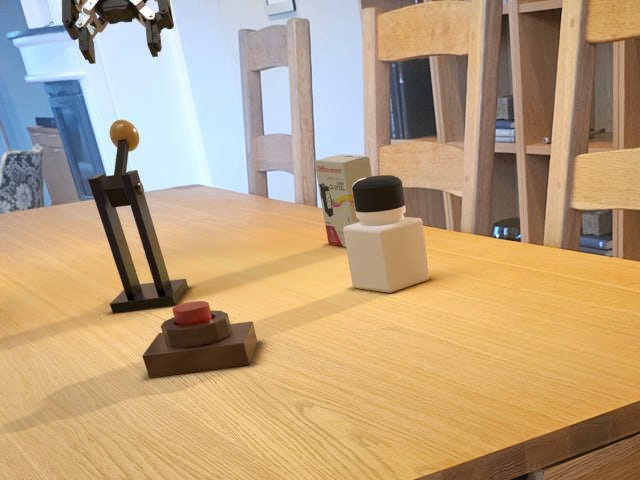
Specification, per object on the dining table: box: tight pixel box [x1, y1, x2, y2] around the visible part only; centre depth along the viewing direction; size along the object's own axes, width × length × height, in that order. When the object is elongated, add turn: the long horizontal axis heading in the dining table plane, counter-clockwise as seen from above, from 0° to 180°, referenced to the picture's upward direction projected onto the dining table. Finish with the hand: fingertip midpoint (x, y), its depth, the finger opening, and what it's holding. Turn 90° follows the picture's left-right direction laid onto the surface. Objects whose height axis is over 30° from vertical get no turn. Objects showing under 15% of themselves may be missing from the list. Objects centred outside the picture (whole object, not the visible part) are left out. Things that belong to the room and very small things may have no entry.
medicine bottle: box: [343, 174, 430, 294], centre depth 102 cm, size 7×7×12 cm
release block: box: [141, 309, 258, 379], centre depth 85 cm, size 10×8×4 cm
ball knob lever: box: [104, 119, 140, 208], centre depth 106 cm, size 15×4×4 cm, turn 7°
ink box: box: [313, 153, 373, 248], centre depth 126 cm, size 9×5×12 cm, turn 40°
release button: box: [171, 300, 213, 326], centre depth 83 cm, size 4×4×2 cm
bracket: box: [87, 169, 189, 314], centre depth 106 cm, size 10×8×15 cm
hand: (121, 55), depth 112 cm, fingers open, 8 cm apart
